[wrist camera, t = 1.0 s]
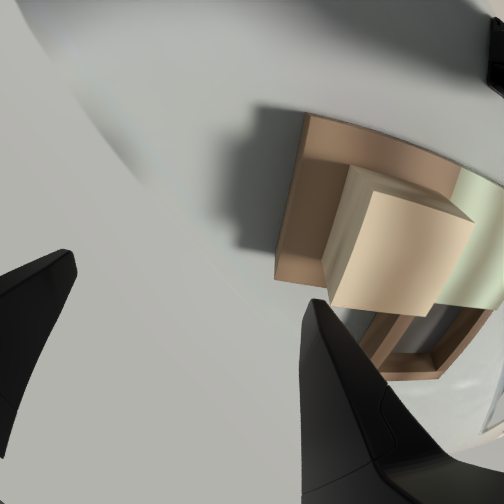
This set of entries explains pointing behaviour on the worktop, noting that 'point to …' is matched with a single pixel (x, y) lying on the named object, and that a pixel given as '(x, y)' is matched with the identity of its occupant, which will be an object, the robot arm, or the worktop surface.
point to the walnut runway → (418, 172)
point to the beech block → (392, 245)
